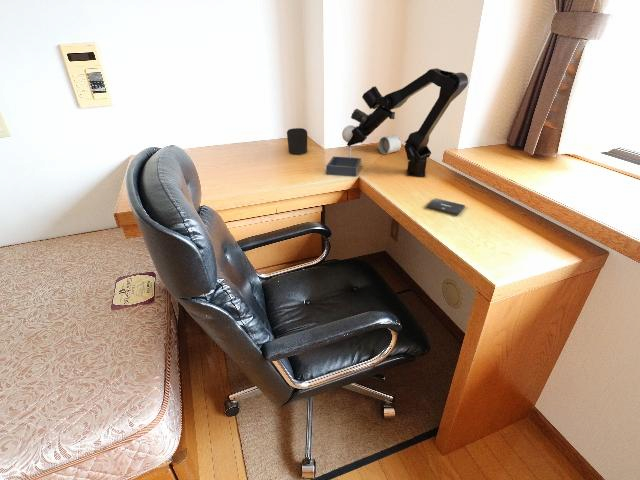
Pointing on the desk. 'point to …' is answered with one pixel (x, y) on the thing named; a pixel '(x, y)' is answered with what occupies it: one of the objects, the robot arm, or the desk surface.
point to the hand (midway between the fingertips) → (349, 143)
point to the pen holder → (297, 141)
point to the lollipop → (348, 135)
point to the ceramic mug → (389, 144)
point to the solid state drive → (446, 206)
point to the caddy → (344, 166)
